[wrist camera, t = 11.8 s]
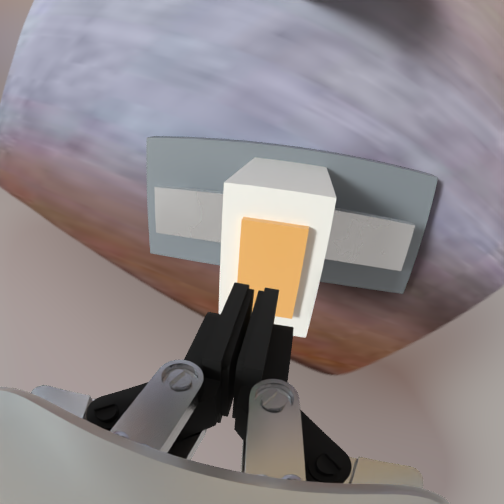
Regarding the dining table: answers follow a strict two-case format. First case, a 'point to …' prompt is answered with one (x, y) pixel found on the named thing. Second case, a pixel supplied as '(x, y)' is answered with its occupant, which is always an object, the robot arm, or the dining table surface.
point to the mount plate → (344, 180)
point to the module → (277, 234)
